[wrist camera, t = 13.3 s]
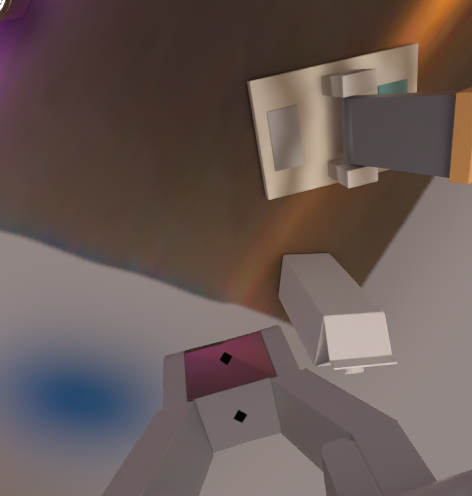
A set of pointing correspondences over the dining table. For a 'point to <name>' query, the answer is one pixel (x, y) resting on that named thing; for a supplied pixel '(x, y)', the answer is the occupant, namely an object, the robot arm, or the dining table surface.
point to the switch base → (320, 118)
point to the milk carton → (333, 314)
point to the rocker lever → (411, 132)
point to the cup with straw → (13, 9)
